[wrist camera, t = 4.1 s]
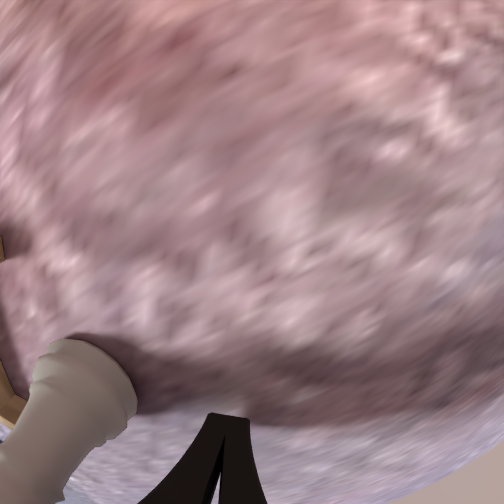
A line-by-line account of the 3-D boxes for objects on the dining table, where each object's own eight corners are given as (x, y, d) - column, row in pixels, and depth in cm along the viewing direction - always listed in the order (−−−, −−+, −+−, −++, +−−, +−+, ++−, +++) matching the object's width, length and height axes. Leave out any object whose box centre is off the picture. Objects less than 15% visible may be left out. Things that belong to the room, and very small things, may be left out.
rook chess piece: (38, 356, 11) (-61, 471, 3) (80, 312, 9) (-65, 470, 2) (107, 423, 12) (39, 552, 4) (164, 398, 10) (89, 580, 3)
